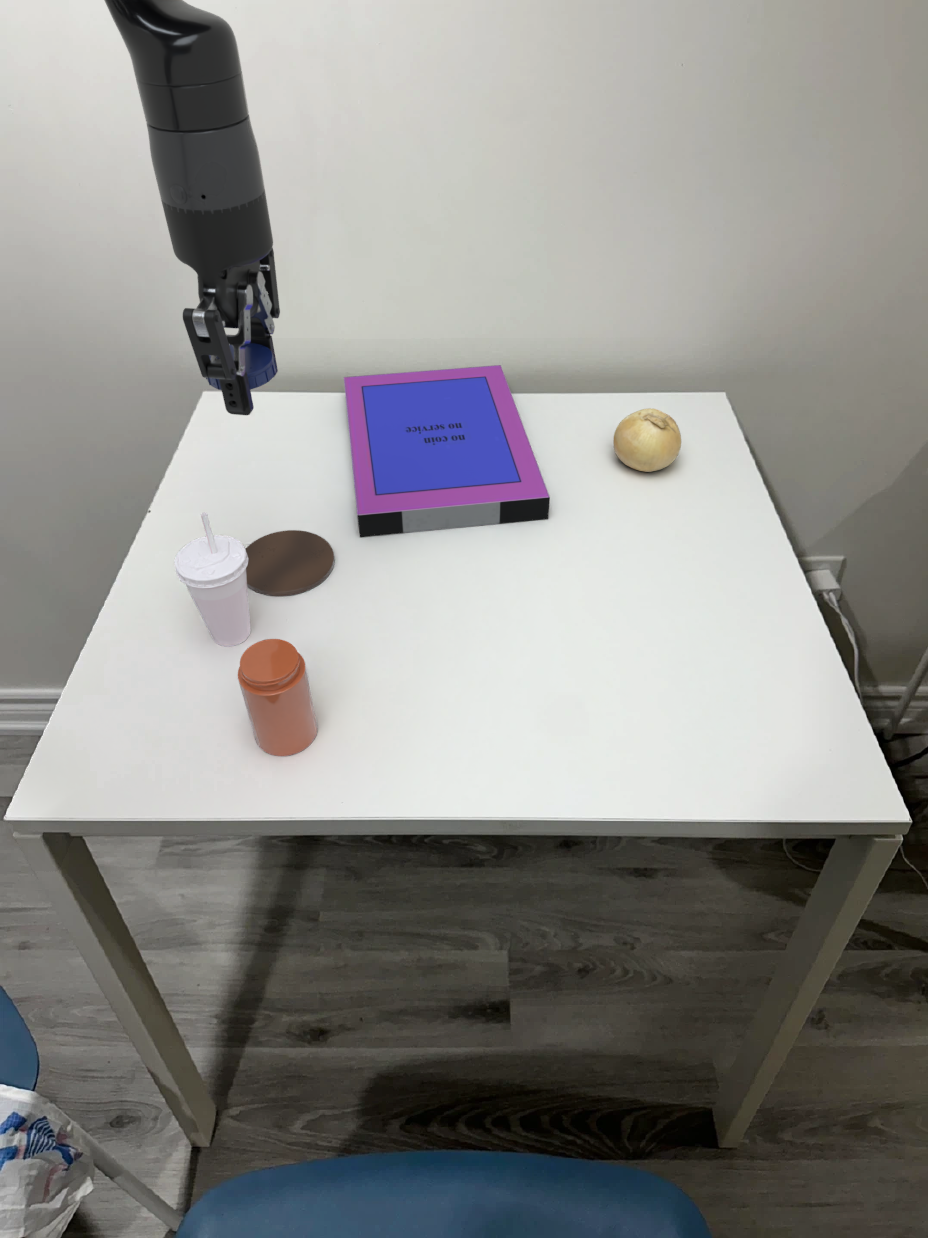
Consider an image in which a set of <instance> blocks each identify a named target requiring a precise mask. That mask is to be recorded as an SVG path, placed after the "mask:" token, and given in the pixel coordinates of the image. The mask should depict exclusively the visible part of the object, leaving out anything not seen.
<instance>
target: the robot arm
mask: <svg viewBox="0 0 928 1238" xmlns="http://www.w3.org/2000/svg"><path fill="white" fill-rule="evenodd" d="M104 3H105V6H106V7H107V10H108V11H109V15H110V16H111V18H112V21H113V22H114V25H115V26H116V28H117V31H118V32H119V35H120V36H121V39H122V40H123V43H124V45H125V47H126V49H127V52H128V54H129V57H130V60H131V65H132V69H133V73H134V77H135V81H136V86H137V90H138V94H139V98H140V102H141V107H142V110H143V114H144V119H145V122H146V128H147V134H148V135H147V136H148V142H149V151H150V158H151V163H152V167H153V171H154V176H155V180H156V184H157V187H158V193H159V197H160V201H161V206H162V210H163V213H164V218H165V221H166V225H167V226H166V227H167V229H168V230H167V231H168V234H169V238H170V242H171V245H172V250H173V253H174V255H175V257H176V258H177V259H178V261H180V262H181V263H182V264H184V265H186V266H188V267H189V268H191V269H192V270H193V271H194V272H196V274H197V291H198V292H197V294H198V299H199V300H198V301H199V303H198V304H197V306H196V308H192V307H185V308H183V311H182V321H183V324H184V327H185V330H186V333H187V336H188V338H189V342H190V344H191V348H192V350H193V354H194V357H195V360H196V362H197V365H198V368H199V371H200V374H201V377H202V378H205V379H206V378H215V379H219V381H220V386H221V390H220V391H221V394H222V398H223V403H224V407H225V410H226V412H227V413H228V414H230V415H237V416H250V415H251V414H252V412H253V411H254V408H255V407H254V401H253V396H252V393H251V392H252V391H251V390H250V387H249V382H248V377H247V372H245V371H246V364H245V347H246V346H247V345H249V344H250V343H255V344H260V345H263V346H265V347H267V348H269V349H270V350H271V352H272V353H273V358H275V363H276V368H277V369H276V372H275V375H274V377H273V378H275V377H276V375H277V373H278V371H279V369H278V363H277V358H276V352H275V347H274V346H275V345H274V341H273V336H272V335H273V334H274V333H275V328H276V326H275V321H274V319H279V318H280V314H281V309H280V299H279V291H278V281H277V273H276V271H277V270H276V261H275V252H274V239H273V238H274V237H273V232H272V225H271V220H270V213H269V206H268V201H267V200H268V199H267V194H266V189H265V182H264V176H263V169H262V164H261V157H260V152H259V151H260V150H259V147H258V144H257V140H256V137H255V133H254V130H253V127H252V123H251V122H252V121H251V117H250V114H249V113H250V111H249V107H248V106H249V105H248V99H247V93H246V88H245V82H244V81H245V80H244V75H243V70H242V63H241V58H240V52H239V46H238V42H237V39H236V35H235V32H234V30H233V28H232V26H231V25H230V23H229V22H228V21H226V19H224V18H223V17H221V16H219V15H218V14H215V13H212V12H209V11H207V10H203V9H201V8H199V7H196V6H194V5H191V4H190V3H188V2H186V1H185V0H104ZM225 329H238V331H237V333H235V334H232V333H231V334H230V333H226V330H225ZM229 345H232V346H233V348H234V360H233V357H232V353H231V350H230V347H229ZM209 355H211V360H210V357H209Z"/></svg>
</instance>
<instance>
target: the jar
mask: <svg viewBox="0 0 928 1238" xmlns="http://www.w3.org/2000/svg"><path fill="white" fill-rule="evenodd" d="M237 680H238V684H239V687H240V691H241V694H242V698H243V701H244V705H245V708H246V712H247V716H248V718H249V722H250V725H251V729H252V732H253V736H254V739H255V743H256V744H257V746H258V747H259V749H261V751H263V752H264V753H266V754H269V755H271V756H275V757H288V756H293V755H296V754H299V753H301V752H302V751H305V750H306V749H307V748H308V747H309V746H311V744H312V743H313V742H314V740H315V739H316V736H317V734H318V728H319V726H318V721H317V715H316V710H315V706H314V701H313V695H312V690H311V685H310V681H309V675H308V671H307V666H306V661H305V659H304V657H303V655H302V654H301V653H300V652H298V649H297V648H296V646H294V644H292V643H291V642H290V641H287V640H284V639H280V638H267V639H263V640H259V641H256V642H255V643H253V644H251V645H250V646H248V647H247V648H246V649H245V650H244V652H243V653H242V654H241V657H240V660H239V667H238V669H237Z"/></svg>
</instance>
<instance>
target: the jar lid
mask: <svg viewBox="0 0 928 1238" xmlns="http://www.w3.org/2000/svg"><path fill="white" fill-rule="evenodd" d="M229 347H230V350H231V353H232V357H233V360H234V348H233V346H232V345H229ZM209 357H210V360H211V355H209ZM276 363H277V362H276ZM276 363H275V358H273V353H272V352H271V350H270V349H269V348H267V347H265V346H263V345H260V344H255V343H250V344H249V345H247V346H246V347H245V364H246V371H245V372H247V377H248V382H249V387H250V391H251V390H254V389H257V388H260V387H262V386H264V385H265V384H267V383H269V382H271V380H272V379H274V378H275V377H274V375H275V372H276V369H278V367H277V368H276ZM275 376H276V375H275ZM205 380H206V381H207V383H208V384H209V386H211V387H212V388H214V389H216V390H219V391H222V390H221V386H220V381H219V379H215V378H205Z"/></svg>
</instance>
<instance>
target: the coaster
mask: <svg viewBox="0 0 928 1238" xmlns="http://www.w3.org/2000/svg"><path fill="white" fill-rule="evenodd" d="M245 549H246V553H247V556H248V565H247V567H246V576H247V577H246V578H247V588H249V589H250V590H252V591H253V592H256V593H259V594H261V595H264V596H270V597H287V596H294V595H300V594H302V593H305V592H308V591H310V590H312V589H314V588H316V587H318V586H319V585H321V584H322V583H323V582H324V581H325V580H326V579H327V578H328V577H329V576H330V574H331V573H332V571H333V569H334V566H335V552H334V550H333V547H332V546H331V544H330V543H329V542H328V540H326V539H325V538H324V537H322V536H321V535H318V534H316V533H313V532H310V531H306V530H299V529H298V530H297V529H289V530H280V531H275V532H271V533H268V534H265V535H263V536H261V537H259V538H257V539H256V540H254V541H252V542H251V543H250V544H249V545H247V546H246V547H245Z"/></svg>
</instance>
